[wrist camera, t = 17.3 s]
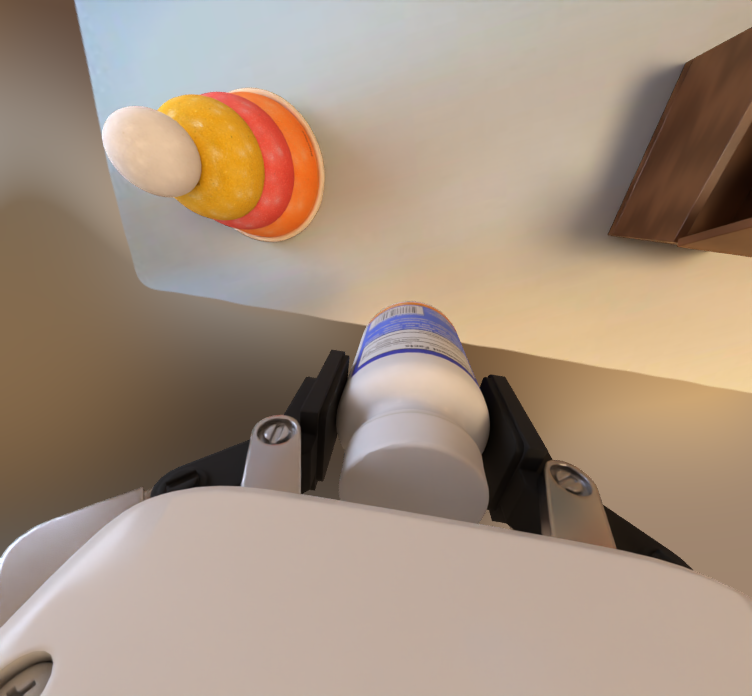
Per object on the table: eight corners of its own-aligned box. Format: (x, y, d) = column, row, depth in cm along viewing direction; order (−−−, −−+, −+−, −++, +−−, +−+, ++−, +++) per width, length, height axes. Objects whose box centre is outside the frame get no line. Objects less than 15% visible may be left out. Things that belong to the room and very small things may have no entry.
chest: (685, 62, 26) (810, -5, 18) (819, 78, 25) (1008, 16, 17) (607, 235, 32) (673, 242, 24) (713, 249, 32) (815, 262, 24)
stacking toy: (186, 118, 31) (-98, -2, 14) (305, 75, 29) (143, -143, 11) (239, 251, 37) (87, 286, 19) (343, 225, 34) (275, 238, 17)
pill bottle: (430, 396, 18) (455, 581, 9) (348, 364, 17) (291, 527, 8) (476, 321, 15) (572, 474, 6) (382, 281, 15) (351, 390, 6)
